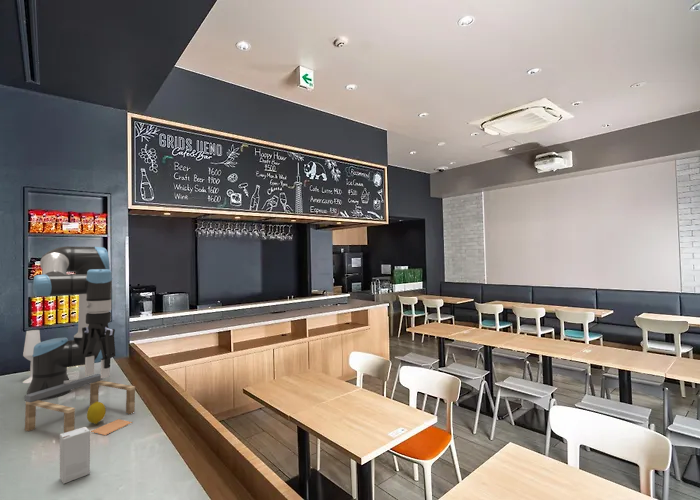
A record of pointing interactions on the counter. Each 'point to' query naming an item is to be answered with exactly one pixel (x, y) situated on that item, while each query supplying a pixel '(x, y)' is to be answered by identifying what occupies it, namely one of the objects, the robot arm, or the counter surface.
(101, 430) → the pad
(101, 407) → the lemon
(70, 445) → the skincare box
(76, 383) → the bar
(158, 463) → the counter surface
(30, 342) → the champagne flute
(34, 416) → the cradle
